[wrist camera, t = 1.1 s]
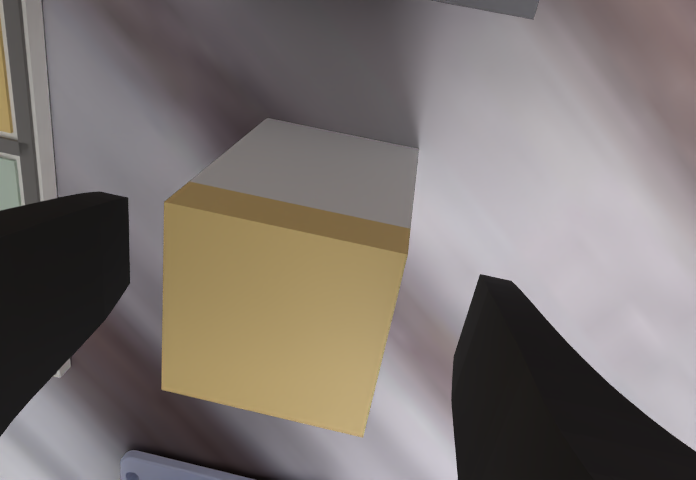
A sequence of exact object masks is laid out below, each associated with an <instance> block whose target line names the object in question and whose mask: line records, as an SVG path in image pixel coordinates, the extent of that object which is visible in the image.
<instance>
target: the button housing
mask: <svg viewBox="0 0 696 480" xmlns="http://www.w3.org/2000/svg"><path fill="white" fill-rule="evenodd" d="M432 1H437V2H443V3H448V4H453V5H459V6H464V7H469V8H475V9H480V10H485V11H491V12H496V13H501V14H507V15H512V16H517V17H523V18H528V19H534V16H535V13H536V9H537V6H538V3H539V0H432Z"/></svg>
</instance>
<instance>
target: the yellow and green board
mask: <svg viewBox="0 0 696 480" xmlns="http://www.w3.org/2000/svg"><path fill="white" fill-rule="evenodd" d="M55 198H57V188H56V175H55V163H54V150H53V138H52V126H51V113H50V101H49V88H48V76H47V63H46V51H45V38H44V26H43V14H42V1H41V0H0V210H5V209H9V208H14V207H18V206H23V205H27V204H32V203H36V202H41V201H46V200H50V199H55ZM70 367H71V362H70V358H69V359H68V360H67V362H66V363H65V364H64V365H63V366H62V367H61V368H60V369H59V370H58V371H57V372H56V373H55V374H54V375H53V377H57V378H61V377H62V376H63V375H64V374H65V373H66V372H67V370H68V369H69V368H70Z"/></svg>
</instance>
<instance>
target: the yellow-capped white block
mask: <svg viewBox="0 0 696 480" xmlns="http://www.w3.org/2000/svg"><path fill="white" fill-rule="evenodd" d="M418 153H419V149H417V148H412V147H407V146H402V145H398V144H393V143H388V142H383V141H378V140H373V139H368V138H363V137H358V136H354V135H349V134H344V133H339V132H334V131H329V130H324V129H319V128H315V127H310V126H305V125H300V124H295V123H290V122H285V121H280V120H275V119H271V118H266V119H265V120H264V121H263V122H261V123H260V124H259V125H258V126H256V127H255V128H254V129H253V130H252V131H250V132H249V133H248V134H247V135H245V136H244V137H243V138H242V139H241V140H239V141H238V142H237V143H236V144H234V145H233V146H232V147H231V148H230V149H228V150H227V151H226V152H225V153H223V154H222V155H221V156H220V157H219V158H217V159H216V160H215V161H214V162H212V163H211V164H210V165H209V166H208V167H206V168H205V169H204V170H203V171H201V172H200V173H199V174H198V175H197V176H195V177H194V178H193V179H192V180H190V181H189V182H188V183H187V184H186V185H184V186H183V187H182V188H181V189H179V190H178V191H177V192H176V193H175V194H173V195H172V196H171V197H170V198H168V199H167V200H166V201H165V202H164V248H163V317H162V385H161V390H164V391H169V392H173V393H177V394H181V395H186V396H190V397H194V398H198V399H202V400H207V401H211V402H215V403H219V404H224V405H228V406H232V407H236V408H240V409H245V410H249V411H253V412H257V413H261V414H266V415H270V416H274V417H278V418H283V419H287V420H291V421H295V422H299V423H304V424H308V425H312V426H316V427H320V428H325V429H329V430H333V431H337V432H342V433H346V434H350V435H354V436H358V437H363V436H364V431H365V427H366V423H367V419H368V415H369V411H370V407H371V403H372V399H373V395H374V390H375V386H376V382H377V378H378V374H379V370H380V366H381V362H382V358H383V354H384V350H385V345H386V341H387V337H388V333H389V329H390V325H391V321H392V317H393V313H394V309H395V305H396V300H397V296H398V292H399V288H400V284H401V280H402V276H403V272H404V268H405V264H406V259H407V255H408V247H409V238H410V228H411V219H412V210H413V200H414V191H415V181H416V172H417V163H418Z"/></svg>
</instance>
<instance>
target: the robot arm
mask: <svg viewBox="0 0 696 480" xmlns="http://www.w3.org/2000/svg"><path fill="white" fill-rule="evenodd" d="M129 284H130V262H129V214H128V198H127V197H122V196H118V195H113V194H108V193H104V192H89V193H81V194H75V195H70V196H65V197H60V198H55V199H50V200H46V201H41V202H36V203H32V204H27V205H23V206H18V207H14V208H9V209H5V210H0V436H1V435H2V434H3V432H4V431H5V430H6V428H7V427H8V426H9V424H10V423H11V422H12V421H13V419H14V418H15V417H16V416H17V415H18V413H19V412H20V411H21V410H22V409H23V408H24V407H25V405H26V404H27V403H28V402H29V401H30V400H31V399H32V398H33V396H34V395H35V394H36V393H37V392H38V391H39V390H40V389H41V388H42V387H43V386H44V385H45V384H46V383H47V382H48V381H49V380H50V378H51V377H52V376H53V375H54V374H55V373H56V372H57V371H58V370H59V369H60V368H61V367H62V366H63V365H64V364H65V363H66V362H67V360H68V359H69V358H70V357H71V356H72V355H73V354H74V353H75V352H76V351H77V350H78V349H79V348H80V347H81V346H82V345H83V343H84V342H85V341H86V340H87V339H88V338H89V337H90V336H91V335H92V334H93V333H94V332H95V330H96V329H97V328H98V327H99V326H100V325H101V324H102V323H103V322H104V320H105V319H106V318H107V316H108V315H109V314H110V312H111V311H112V309H113V308H114V307H115V305H116V304H117V302H118V301H119V299H120V298H121V296H122V295H123V293H124V292H125V290H126V289H127V287H128V285H129ZM451 401H452V414H453V426H454V438H455V450H456V461H457V472H458V480H696V452H695V451H694V450H693V449H691V448H690V447H688V446H687V445H686V444H684V443H683V442H681V441H680V440H679V439H677V438H676V437H674V436H673V435H672V434H670V433H669V432H668V431H666V430H665V429H664V428H662V427H661V426H660V425H658V424H657V423H656V422H654V421H653V420H652V419H651V418H649V417H648V416H647V415H646V414H645V413H643V412H642V411H641V410H640V409H639V408H637V407H636V406H635V405H634V404H632V403H631V402H630V401H629V400H628V399H626V398H625V397H624V396H623V395H622V394H620V393H619V392H618V391H617V390H616V389H615V388H614V387H612V386H611V385H610V384H609V383H608V382H607V381H606V380H605V379H604V378H603V377H602V376H601V375H600V374H598V373H597V372H596V371H595V370H594V369H593V368H592V367H591V366H590V365H589V364H588V363H587V362H586V361H585V360H584V359H583V358H582V357H581V356H580V355H579V354H578V353H577V352H576V351H575V350H574V349H573V348H572V347H571V346H570V345H569V344H568V343H567V342H566V340H565V339H564V338H563V337H562V336H561V335H560V334H559V333H558V332H557V331H556V330H555V328H554V327H553V326H552V325H551V324H550V323H549V322H548V321H547V320H546V318H545V317H544V316H543V315H542V314H541V313H540V312H539V310H538V309H537V308H536V307H535V306H534V305H533V304H532V302H531V301H530V300H529V299H528V298H527V297H526V296H525V295H524V293H523V292H522V291H521V290H520V289H519V288H518V287H517V286H516V285H515V284H514V283H513V282H512V281H509V280H504V279H500V278H495V277H491V276H486V275H481V274H480V276H479V279H478V282H477V286H476V289H475V292H474V295H473V298H472V301H471V304H470V307H469V311H468V314H467V317H466V320H465V323H464V326H463V329H462V332H461V336H460V339H459V342H458V345H457V348H456V351H455V354H454V361H453V377H452V400H451ZM120 480H255V479H251V478H247V477H243V476H239V475H235V474H231V473H227V472H223V471H219V470H215V469H211V468H206V467H202V466H198V465H194V464H190V463H186V462H182V461H178V460H174V459H170V458H166V457H162V456H157V455H153V454H149V453H145V452H141V451H136V450H131V451H128V452H126V453H125V455H124V456H123V458H122V459H121V461H120Z"/></svg>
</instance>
